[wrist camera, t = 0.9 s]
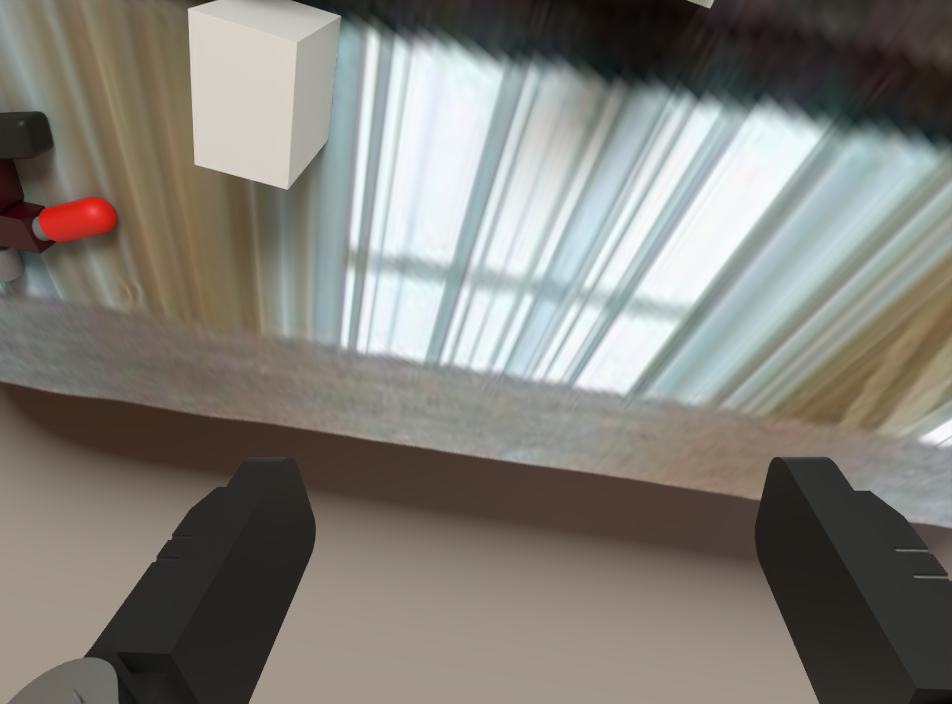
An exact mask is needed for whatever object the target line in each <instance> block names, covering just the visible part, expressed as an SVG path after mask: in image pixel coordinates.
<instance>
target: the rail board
mask: <svg viewBox="0 0 952 704" xmlns="http://www.w3.org/2000/svg"><path fill="white" fill-rule="evenodd" d="M687 1H690V2H693V3H696V4H699V5H702V6H705V7H708V8H711V6H712V3H713V1H714V0H687Z"/></svg>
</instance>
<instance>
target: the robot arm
mask: <svg viewBox="0 0 952 704" xmlns="http://www.w3.org/2000/svg"><path fill="white" fill-rule="evenodd" d="M315 534H316V526H315V519H314V515H313V512H312V509H311V505H310V502H309V499H308V496H307V493H306V489H305V486H304V483H303V480H302V477H301V474H300V470H299V467H298V465H297V463H296V461H295V460H294V459H293V458H290V457H251V458H248V459H246V460H245V461H244V462H243V463H242V464H241V466H240V467H239V469H238V470H237V472H236V473H235V475H234V476H233V478H232V479H231V481H230V482H229V484H228V485H227V487H217V488H216V489H214V490H213V491H212V492H211V493H209V494H208V495H207V496H206V497H205V498H203V499H202V500H201V501H200V502H199V503H197V504H196V505H195V506H194V507H192V508H191V509H190V510H189V512H188V513H187V515H186V516H185V517H184V519H183V520H182V522H181V523H180V524H179V526H178V527H177V529H176V530H175V531H174V533H173V534H172V540H168V542H167V543H166V544H165V545H164V547H163V548H162V550H161V551H160V552H159V554H158V555H157V560H156V562H152V564H151V565H150V567H149V568H148V569H147V571H146V572H145V573H144V575H143V576H142V578H141V579H140V580H139V582H138V583H137V585H136V586H135V587H134V589H133V590H132V592H131V593H130V594H129V596H128V597H127V599H126V600H125V601H124V603H123V604H122V606H121V607H120V608H119V610H118V611H117V612H116V614H115V615H114V617H113V618H112V620H111V621H110V622H109V624H108V625H107V627H106V628H105V629H104V631H103V632H102V633H101V635H100V636H99V638H98V639H97V641H96V642H95V643H94V645H93V646H92V647H91V649H90V650H89V651H88V652H87V654H86V655H85V656H84V658H81V659H75V660H72V661H69V662H65V663H63V664H61V665H58V666H56V667H54V668H52V669H50V670H49V671H47V672H45V673H43V674H42V675H40V676H39V677H37V678H36V679H34V680H33V681H32V682H30V683H29V684H28V685H27V686H25V687H24V688H23V689H22V690H21V691H19V692H18V693H17V694H16V695H15V696H14V697H13V698H12V699H11V700H10V701H9V703H8V704H249V701H250V699H251V697H252V694H253V692H254V689H255V687H256V685H257V682H258V680H259V678H260V675H261V673H262V670H263V668H264V665H265V663H266V661H267V658H268V656H269V654H270V652H271V649H272V647H273V644H274V642H275V639H276V637H277V635H278V632H279V630H280V628H281V626H282V623H283V621H284V618H285V616H286V614H287V611H288V609H289V607H290V604H291V602H292V599H293V597H294V595H295V592H296V590H297V587H298V585H299V583H300V581H301V578H302V576H303V573H304V571H305V569H306V566H307V564H308V562H309V559H310V557H311V554H312V551H313V548H314V543H315ZM755 545H756V551H757V555H758V559H759V562H760V565H761V567H762V570H763V572H764V574H765V577H766V579H767V581H768V584H769V586H770V588H771V591H772V593H773V595H774V598H775V600H776V602H777V605H778V607H779V609H780V612H781V614H782V617H783V619H784V621H785V624H786V626H787V628H788V631H789V633H790V635H791V638H792V640H793V642H794V645H795V647H796V650H797V652H798V654H799V657H800V659H801V661H802V663H803V666H804V668H805V671H806V673H807V675H808V677H809V680H810V682H811V685H812V687H813V690H814V692H815V694H816V696H817V699H818V701H819V704H952V581H949V579H948V574H947V572H946V571H945V570H944V568H943V567H942V566H941V564H940V563H939V562H938V560H937V559H936V558H935V556H934V555H933V554H929V553H928V551H927V550H928V547H927V546H926V545H925V543H924V542H923V541H922V540H921V538H920V537H919V536H918V534H917V533H916V532H915V530H914V529H913V528H912V526H911V525H910V524H909V522H908V521H907V520H906V518H905V517H904V516H903V515H901V514H900V513H899V512H897V511H896V510H895V509H893V508H892V507H891V506H889V505H888V504H887V503H885V502H884V501H883V500H881V499H880V498H879V497H877V496H876V495H875V494H873V493H872V492H871V491H854V490H853V488H852V487H851V485H850V484H849V482H848V481H847V480H846V478H845V477H844V475H843V474H842V472H841V471H840V470H839V468H838V467H837V465H836V464H835V463H834V462H833V461H832V460H831V459H830V458H828V457H775V458H774V459H772V461H771V463H770V465H769V468H768V472H767V477H766V481H765V485H764V489H763V494H762V498H761V502H760V506H759V510H758V515H757V519H756V524H755Z"/></svg>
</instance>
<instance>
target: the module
mask: <svg viewBox="0 0 952 704" xmlns="http://www.w3.org/2000/svg"><path fill="white" fill-rule="evenodd" d="M188 19H189V42H190V65H191V87H192V110H193V133H194V155H195V165H199V166H202V167H206V168H210V169H213V170H217V171H221V172H224V173H228V174H232V175H235V176H239V177H243V178H246V179H250V180H254V181H257V182H261V183H265V184H268V185H272V186H276V187H279V188H283V189H287V190H288V189H289V188H290V186H291V185H292V184H293V183H294V181H295V180H296V179H297V178H298V177H299V175H300V174H301V173H302V172H303V170H304V169H305V168H306V167H307V165H308V164H309V163H310V162H311V160H312V159H313V158H314V157H315V155H316V154H317V153H318V152H319V150H320V149H321V148H322V147H323V146H324V144H325V143H326V142H327V141H328V136H329V126H330V117H331V107H332V98H333V88H334V79H335V69H336V60H337V50H338V41H339V31H340V22H341V16H339V15H336V14H333V13H329V12H326V11H323V10H320V9H317V8H314V7H310V6H307V5H304V4H301V3H298V2H295V1H291V0H217V1H213V2H210V3H206V4H203V5H199V6H196V7H192V8H189V9H188Z"/></svg>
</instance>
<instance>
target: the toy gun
mask: <svg viewBox="0 0 952 704" xmlns="http://www.w3.org/2000/svg"><path fill="white" fill-rule="evenodd" d="M52 146H53V140H52V136H51V133H50V129H49V125H48V121H47V117H46V116H45V114H43V113H42V112H37V111H34V112H9V113H0V283H1V284H2V285H3V286H4V287H5V282H8V281H12V280H15V279H17V278H19V277H20V276H21V275H23V273H24V267H23V264H22V261H21V258H20V255H19V252H18V249H20V250H25V251H30V252H35V253H42V252H43V251H45V250H46V249H47V248H49V247H50V246H52V245H53V244H54V243H56V242H67V241H71V240H76V239H80V238H84V237H89V236H93V235H97V234H102V233H106V232H108V231H110V230H112V229H113V227H114V226H115V224H116V222H117V214H116V211H115V209H114V208H113V207H112V205H111V204H110V203H108V202H107V201H105V200H103V199H100V198H96V197H90V198H85V199H81V200H77V201H73V202H69V203H64V204H60V205H56V206H52V207H48V208H45V206H42V205H37V204H32V203H27V202H23V199H24V193H23V190H22V187H21V183H20V180H19V177H18V174H17V170H16V167H15V164H14V160H13V159H24V158H33V157H35V156H37V155H39V154H41V153H43V152H45V151H47V150H49V149H51V148H52Z"/></svg>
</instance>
